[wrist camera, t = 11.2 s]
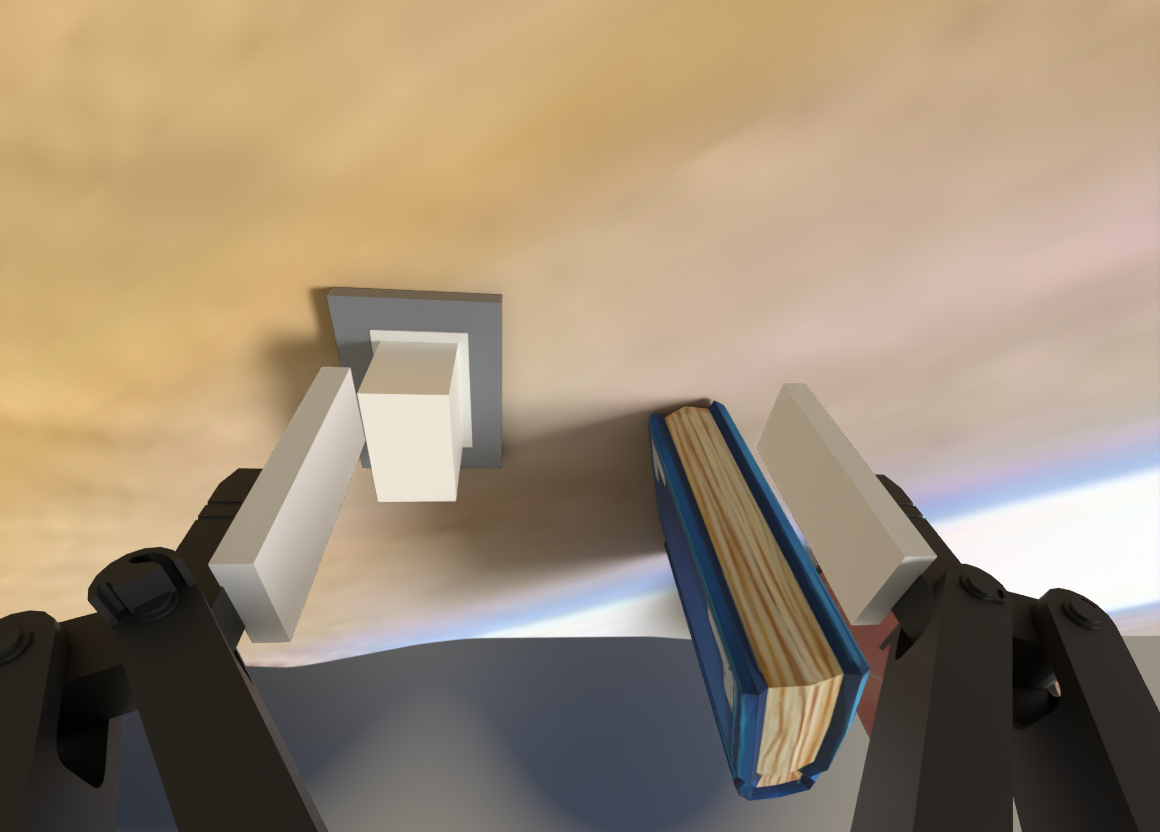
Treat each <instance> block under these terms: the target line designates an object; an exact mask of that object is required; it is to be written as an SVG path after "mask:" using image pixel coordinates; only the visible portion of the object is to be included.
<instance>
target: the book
mask: <svg viewBox="0 0 1160 832" xmlns="http://www.w3.org/2000/svg"><path fill="white" fill-rule="evenodd" d="M648 423H649V433H650V444H651V454H652V465H653V474H654V482H655V489H656V497H657V504H658V511H659V518H660V521H661V525H662V528H663V531H664V535H665V538H666V541H665V544H664V545H665V549H666V552H667V555H668V559H669V562H670V566H671V569H672V573H673V576H674V579H675V583H676V586H677V590H678V593H679V597H680V600H681V603H682V607H683V610H684V614H685V617H686V620H687V624H688V627H689V631H690V634H691V638H692V641H693V644H694V648H695V651H696V655H697V658H698V661H699V665H700V668H701V672H702V675H703V678H704V682H705V685H706V689H707V692H708V696H709V699H710V703H711V706H712V709H713V713H714V716H715V720H716V723H717V726H718V730H719V733H720V737H721V740H722V743H723V747H724V750H725V754H726V757H727V761H728V764H729V768H730V771H731V774H732V778H733V781H734V785H735V787H736V790H737V792H738V794H739V795H740V796H742V797H744V798H746V799H748V800H750V801H751V800H759V799H769V798H777V797H782V796H786V795H790V794H794V793H798V792H802V791H806V790H810V788H811V787H812V786H813V784H814V783H815V781H816V780H817V778H818V776H819V774H820V773H821V772H824V771H826V770H828V768H829V766H830V764H831V762H832V761H833V759H834V757H835V755H836V753H837V751H838V749H839V747H840V745H841V743H842V741H843V739H844V737H845V735H846V733H847V731H848V729H849V727H850V725H851V723H852V721H853V719H854V716H855V713H856V710H857V707H858V704H859V702H860V699H861V696H862V693H863V690H864V687H865V684H866V681H867V678H868V675H869V673H870V670H871V668H870V666H869V664H868V663H867V661H866V659H865V657H864V655H863V654H862V652H861V650H860V648H859V646H858V645H857V643H856V641H855V639H854V637H853V636H852V634H851V632H850V630H849V628H848V627H847V625H846V623H845V621H844V619H843V618H842V616H841V614H840V612H839V610H838V609H837V607H836V605H835V603H834V601H833V600H832V598H831V596H830V594H829V592H828V591H827V589H826V587H825V585H824V583H823V582H822V580H821V578H820V576H819V574H818V573H817V571H816V569H815V567H814V566H813V564H812V562H811V560H810V558H809V557H808V555H807V553H806V551H805V549H804V548H803V546H802V544H801V542H800V540H799V539H798V537H797V535H796V533H795V531H794V530H793V528H792V526H791V524H790V522H789V521H788V519H787V517H786V515H785V513H784V512H783V510H782V508H781V506H780V504H779V503H778V501H777V499H776V497H775V495H774V494H773V492H772V490H771V488H770V486H769V485H768V483H767V481H766V479H765V478H764V476H763V474H762V472H761V470H760V469H759V467H758V465H757V463H756V461H755V460H754V458H753V456H752V454H751V452H750V451H749V449H748V447H747V445H746V443H745V442H744V440H743V438H742V436H741V434H740V433H739V431H738V429H737V427H736V425H735V424H734V422H733V420H732V418H731V416H730V415H729V413H728V411H727V409H726V407H725V406H724V405H722V404H720V403H718V402H716V401H714V402H713V403H712V405H711V406H710V407H709V409H706V408H696V407H687V406H684V407H682V408H681V409H679V410H677V411H675V412H674V413H672V414H670V415H668V416H666V417H665V418H664V417H662V416H660V415H659V414H657V413H654V415H653V416H652V417H651V418H650V420H649V421H648Z"/></svg>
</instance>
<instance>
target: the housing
mask: <svg viewBox="0 0 1160 832" xmlns="http://www.w3.org/2000/svg"><path fill="white" fill-rule="evenodd" d="M357 395H358V401H359V406H360V411H361V416H362V421H363V426H364V431H365V437H366V442H367V447H368V452H369V457H370V462H371V467H372V473H373V478H374V483H375V488H376V493H377V498H378V502H415V501H456V496H457V488H458V480H459V472H460V464H461V456H462V448H463V428H462V409H461V389H460V370H459V351H458V343H433V342H402V341H380V343H379V345H378V347H377V350H376V352H375V354H374V356H373V359H372V361H371V363H370V365H369V368H368V370H367V372H366V375H365V377H364V379H363V381H362V384H361V386H360V388H359V390H358V393H357Z"/></svg>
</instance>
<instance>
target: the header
mask: <svg viewBox="0 0 1160 832" xmlns="http://www.w3.org/2000/svg"><path fill="white" fill-rule="evenodd" d="M326 296H327V300H328V305H329V310H330V315H331V320H332V324H333V329H334V334H335V339H336V343H337V348H338V353H339V358H340V362H341V367H349V368H350V369H351V374H352V379H353V383H354V388H355V393H356V398H357V403H358V408H359V412H360V417H361V422H362V427H363V432H364V437H365V431H364V426H363V421H362V416H361V411H360V406H359V401H358V395H357V393H358V390H359V388H360V386H361V384H362V381H363V379H364V377H365V375H366V372H367V370H368V368H369V365H370V363H371V361H372V359H373V356H374V354H375V352H376V350H377V347H378V345H379V343H380V341H402V342H433V343H458V351H459V370H460V389H461V409H462V428H463V448H462V456H461V464H460V468H501V462H502V295H499V294H476V293H454V292H432V291H410V290H388V289H365V288H343V287H332V289H331V290H330V291H329V293H328V294H327V295H326ZM360 458H361V463H362V467H363V468H372V467H371V462H370V457H369V452H368V447H367V442H366V437H365V443H364V446H363V449H362V451H361V454H360Z"/></svg>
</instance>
